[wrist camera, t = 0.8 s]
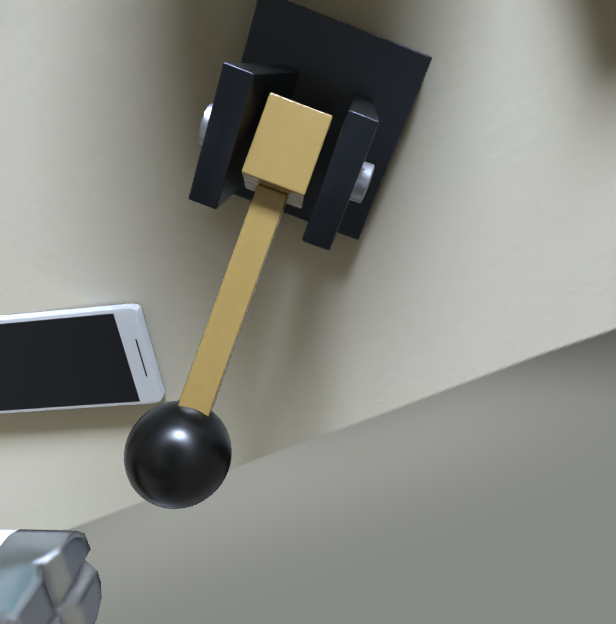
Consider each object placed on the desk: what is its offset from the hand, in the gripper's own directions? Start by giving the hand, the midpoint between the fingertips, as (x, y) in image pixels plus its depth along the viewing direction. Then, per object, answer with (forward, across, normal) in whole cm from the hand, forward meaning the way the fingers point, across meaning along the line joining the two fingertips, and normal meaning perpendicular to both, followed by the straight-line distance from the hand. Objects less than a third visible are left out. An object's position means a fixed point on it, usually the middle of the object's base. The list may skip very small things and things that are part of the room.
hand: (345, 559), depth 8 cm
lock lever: (+13, -5, -1) cm, 13 cm away
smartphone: (+26, -22, -9) cm, 35 cm away
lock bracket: (+25, -2, +5) cm, 26 cm away
